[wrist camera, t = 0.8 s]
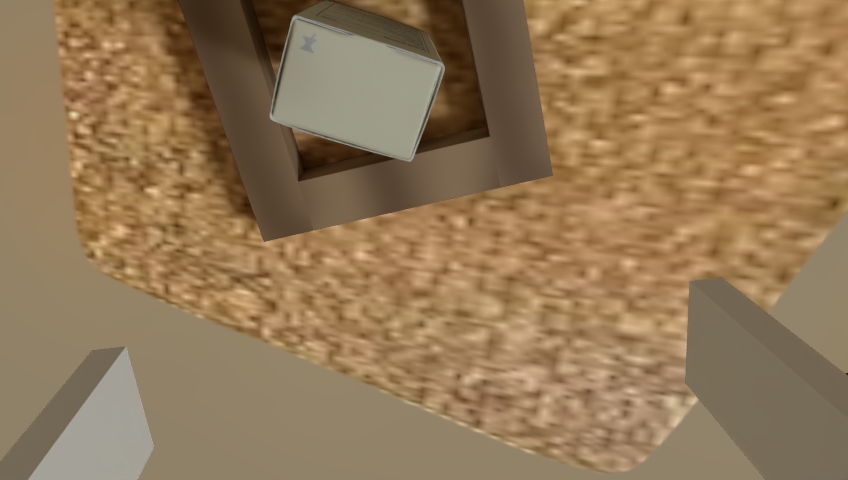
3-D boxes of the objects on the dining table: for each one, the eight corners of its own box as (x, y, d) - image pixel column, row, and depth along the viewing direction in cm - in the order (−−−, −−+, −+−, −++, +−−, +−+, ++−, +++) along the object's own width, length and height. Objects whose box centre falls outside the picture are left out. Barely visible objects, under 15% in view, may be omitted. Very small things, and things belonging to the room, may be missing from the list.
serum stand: (489, -156, 33) (495, -165, 31) (544, 163, 40) (552, 175, 37) (169, -70, 35) (152, -73, 32) (272, 226, 41) (264, 241, 39)
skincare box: (304, 74, 38) (257, 119, 26) (324, -4, 36) (283, 8, 25) (412, 109, 38) (412, 168, 27) (436, 34, 37) (447, 63, 26)
